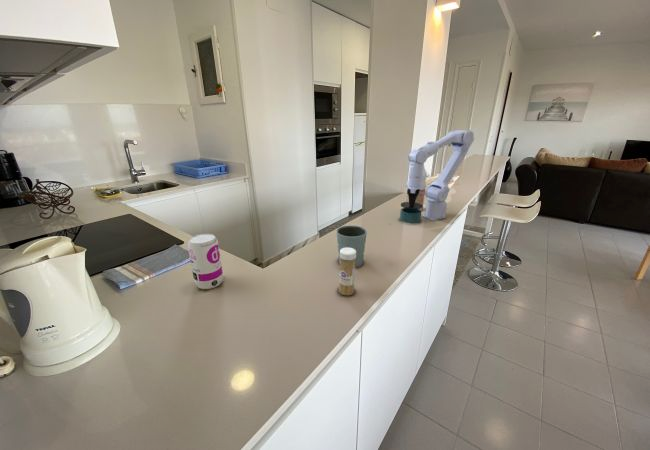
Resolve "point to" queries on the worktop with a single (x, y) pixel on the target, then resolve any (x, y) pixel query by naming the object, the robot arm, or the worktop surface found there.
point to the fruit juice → (422, 190)
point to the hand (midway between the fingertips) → (411, 204)
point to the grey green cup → (352, 241)
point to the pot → (410, 215)
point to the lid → (406, 205)
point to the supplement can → (205, 261)
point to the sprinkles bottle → (347, 271)
